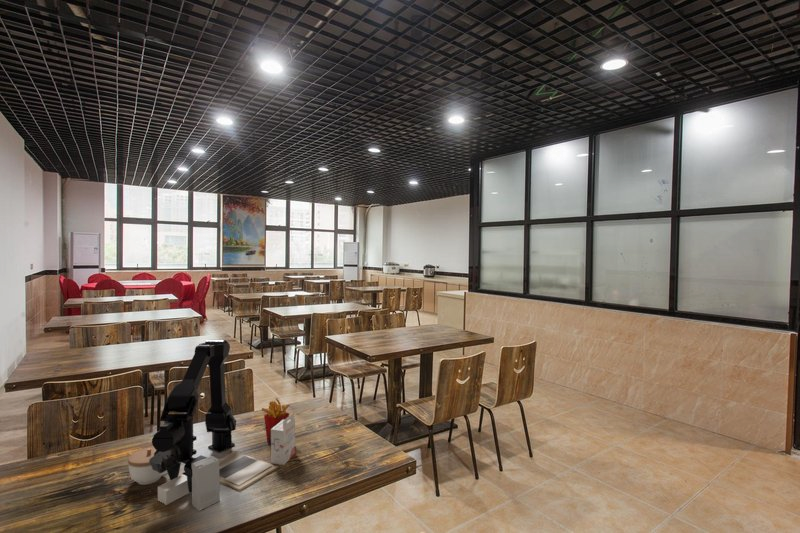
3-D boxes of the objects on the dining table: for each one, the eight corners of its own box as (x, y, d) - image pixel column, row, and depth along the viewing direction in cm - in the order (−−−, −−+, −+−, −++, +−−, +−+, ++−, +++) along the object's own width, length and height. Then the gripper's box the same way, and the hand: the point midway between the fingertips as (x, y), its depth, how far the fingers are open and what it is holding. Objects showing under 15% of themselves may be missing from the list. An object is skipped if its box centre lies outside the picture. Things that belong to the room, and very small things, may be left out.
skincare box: (213, 495, 118) (212, 454, 118) (220, 502, 115) (220, 459, 115) (190, 505, 113) (190, 462, 113) (198, 512, 110) (197, 468, 110)
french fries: (289, 439, 154) (290, 399, 154) (272, 447, 147) (272, 406, 147) (273, 433, 159) (274, 395, 158) (256, 441, 152) (256, 401, 151)
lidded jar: (126, 492, 119) (125, 461, 119) (130, 474, 128) (130, 445, 128) (168, 483, 124) (168, 453, 123) (169, 467, 133) (169, 438, 133)
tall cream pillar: (157, 500, 115) (157, 486, 115) (196, 480, 126) (196, 467, 126) (166, 505, 113) (166, 490, 113) (205, 483, 124) (205, 470, 124)
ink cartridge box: (282, 451, 144) (282, 410, 144) (295, 453, 143) (295, 411, 143) (270, 464, 136) (270, 420, 136) (283, 465, 135) (284, 421, 135)
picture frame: (196, 472, 130) (196, 469, 130) (235, 452, 143) (235, 450, 143) (239, 491, 120) (239, 487, 120) (277, 468, 133) (277, 465, 133)
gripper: (134, 438, 117) (135, 492, 117) (175, 454, 108) (175, 513, 108) (172, 424, 126) (173, 474, 127) (212, 438, 117) (212, 491, 118)
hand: (182, 487), depth 120 cm, fingers open, 8 cm apart
